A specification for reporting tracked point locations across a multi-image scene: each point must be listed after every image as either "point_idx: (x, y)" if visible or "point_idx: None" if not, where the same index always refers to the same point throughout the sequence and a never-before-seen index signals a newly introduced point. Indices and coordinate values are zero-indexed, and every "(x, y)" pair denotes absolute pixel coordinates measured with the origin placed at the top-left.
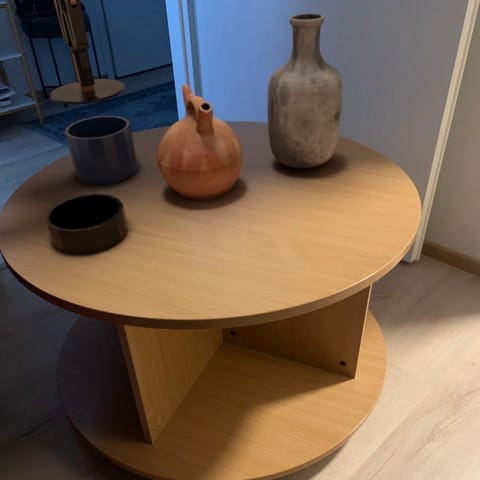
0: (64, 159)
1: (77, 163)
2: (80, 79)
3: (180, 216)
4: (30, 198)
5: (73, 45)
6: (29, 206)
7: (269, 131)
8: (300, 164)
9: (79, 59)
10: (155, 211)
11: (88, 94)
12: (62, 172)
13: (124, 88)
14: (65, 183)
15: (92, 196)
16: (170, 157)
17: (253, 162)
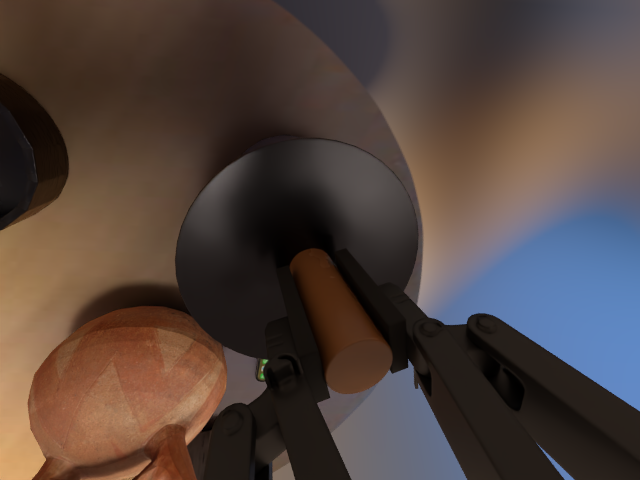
0: (380, 113)
1: (256, 147)
2: (281, 281)
3: (47, 305)
4: (201, 11)
5: (294, 398)
6: (154, 4)
7: (199, 472)
8: None
9: (288, 346)
10: (75, 268)
11: (252, 273)
12: (317, 104)
13: None
14: (258, 106)
15: (27, 173)
16: (55, 368)
17: (233, 396)
